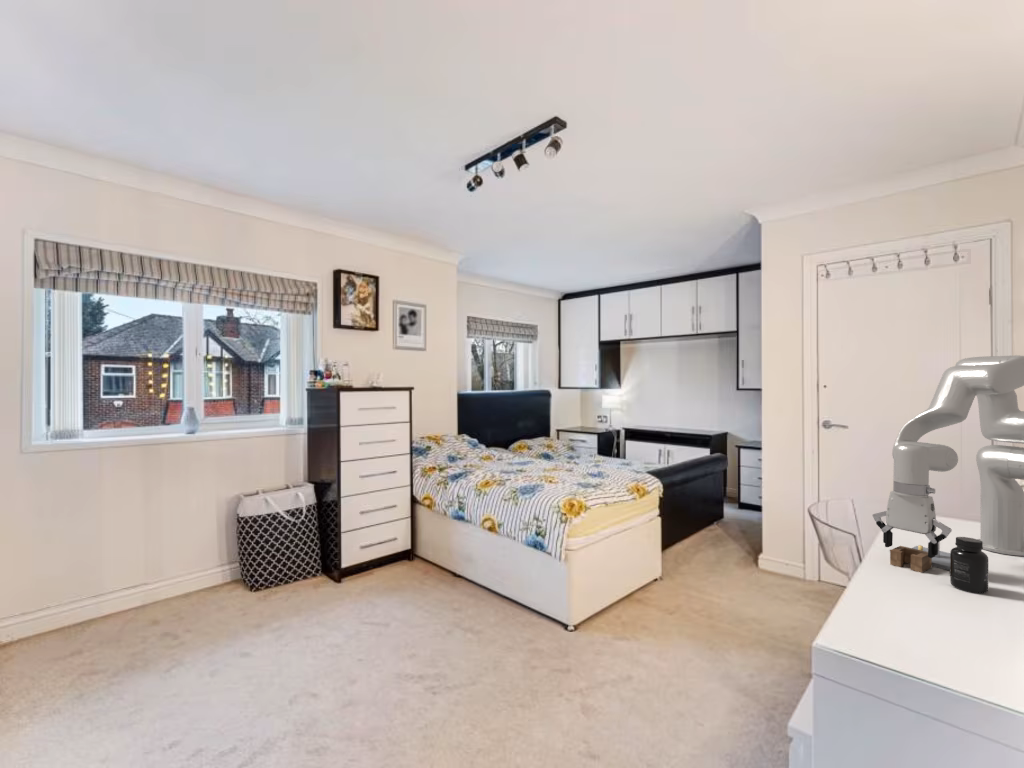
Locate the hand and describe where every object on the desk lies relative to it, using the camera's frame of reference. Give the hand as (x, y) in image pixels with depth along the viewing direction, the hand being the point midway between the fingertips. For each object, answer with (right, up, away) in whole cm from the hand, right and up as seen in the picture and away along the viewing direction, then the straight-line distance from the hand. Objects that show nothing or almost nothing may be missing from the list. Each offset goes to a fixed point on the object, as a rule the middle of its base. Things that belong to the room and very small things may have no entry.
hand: (909, 551), depth 133 cm
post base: (+11, -4, +5) cm, 13 cm away
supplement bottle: (+3, -4, -14) cm, 15 cm away
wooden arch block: (0, -4, 0) cm, 4 cm away
